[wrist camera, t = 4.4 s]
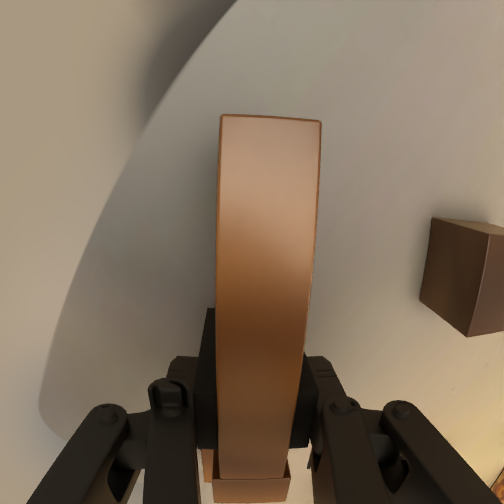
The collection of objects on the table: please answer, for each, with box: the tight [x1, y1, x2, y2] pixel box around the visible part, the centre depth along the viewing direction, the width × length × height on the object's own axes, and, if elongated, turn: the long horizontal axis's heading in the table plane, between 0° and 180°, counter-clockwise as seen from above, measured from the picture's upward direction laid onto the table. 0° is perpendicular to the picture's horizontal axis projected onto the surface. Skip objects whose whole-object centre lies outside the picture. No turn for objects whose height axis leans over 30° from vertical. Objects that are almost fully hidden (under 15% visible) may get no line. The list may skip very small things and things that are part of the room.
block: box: [420, 217, 504, 337], centre depth 14 cm, size 5×5×5 cm
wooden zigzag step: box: [201, 114, 322, 503], centre depth 13 cm, size 20×5×8 cm, turn 178°
